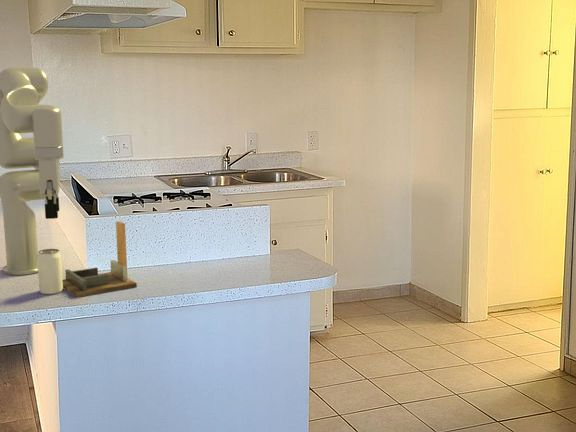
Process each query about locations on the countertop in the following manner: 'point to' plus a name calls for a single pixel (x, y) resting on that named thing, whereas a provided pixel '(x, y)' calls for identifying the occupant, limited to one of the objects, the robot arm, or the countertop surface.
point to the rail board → (113, 286)
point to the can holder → (86, 278)
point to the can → (50, 271)
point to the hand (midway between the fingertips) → (52, 214)
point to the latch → (120, 253)
